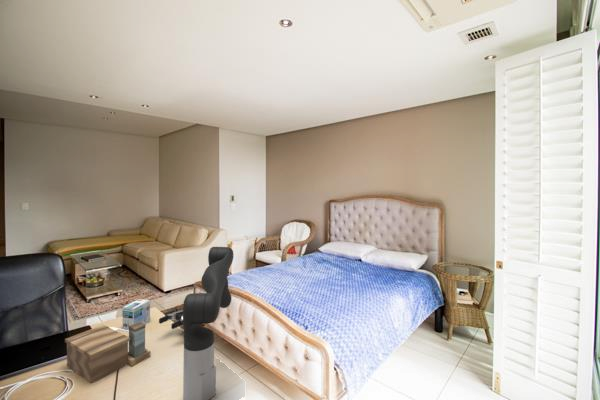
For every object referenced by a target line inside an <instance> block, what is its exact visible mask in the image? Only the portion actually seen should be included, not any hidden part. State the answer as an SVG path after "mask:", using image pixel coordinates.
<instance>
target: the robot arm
mask: <svg viewBox="0 0 600 400" xmlns="http://www.w3.org/2000/svg"><path fill="white" fill-rule="evenodd" d="M207 255H208V257H207V262H208V266H207V267H206V268H205V270H204V272H203V275H202V276H201V281H200V283H201V287H202V289H203V290H204V291H205V292H198V293H197V292H196V293H193V292H192V293H189V294H187V295H186V296H185V298H184V300H183V304H182V310H179V309H178V308H175V309H172V310H169V311H166V312H165V313H164V316H162V317H160V318H159V319H158V324H163V323H165V322H166V323H167V321H168V322H169V321H174V322H173V323H171V330H174V329H176V328H178V327H183V375H182V377H183V379H182V382H183V384H182V385H183V386H182V387H183V390H182V399H183V400H209V399H210V398H211V397H212V396H213V397H214V396H215V395H216V394H217V392H216V391H217V390H216V389H217V387H216V383H217V366H216V365H214V362H215V333H214V331H213V330H212V329H211V328H208V327H205V326H203V325H204V324H205V325H208V324H212V323H214V322H216V320H217V319H218V317H219V313H220V309H221V308H222V309H227V308H228V307H229V306H230V305H231V303H232V294H231V292H230V289H229V279H228V275H229V271H230V268H231V266H232V264H233V261H234V250H233V249H232V248H231V247H229V246H212V247H211V248H210V249H209V251H208V254H207ZM213 397H212V398H213ZM212 398H211V399H212ZM211 399H210V400H211Z"/></svg>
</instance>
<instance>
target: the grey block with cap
mask: <svg viewBox="0 0 600 400" xmlns="http://www.w3.org/2000/svg"><path fill="white" fill-rule="evenodd" d="M128 337H129V338H130V341H129V342H128V352H129V356H131V357H133V358H136V357H138V356H140V355H141V354H143V353H145V349H146V324H143V323H141V322H138V323H135V324H133V325H130V326H129V332H128Z"/></svg>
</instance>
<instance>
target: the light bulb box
mask: <svg viewBox="0 0 600 400" xmlns="http://www.w3.org/2000/svg"><path fill="white" fill-rule="evenodd" d="M138 322H141V323H143V324H145V325H146V324H148V323H149V322H151V300H150V299H142V298H138V299H136V300H134V301H133V302H130V303H128V304H126V305H124V306H122V324H121V325H122V328H121V329H124V330H129V326H130V325H133V324H135V323H138Z"/></svg>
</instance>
